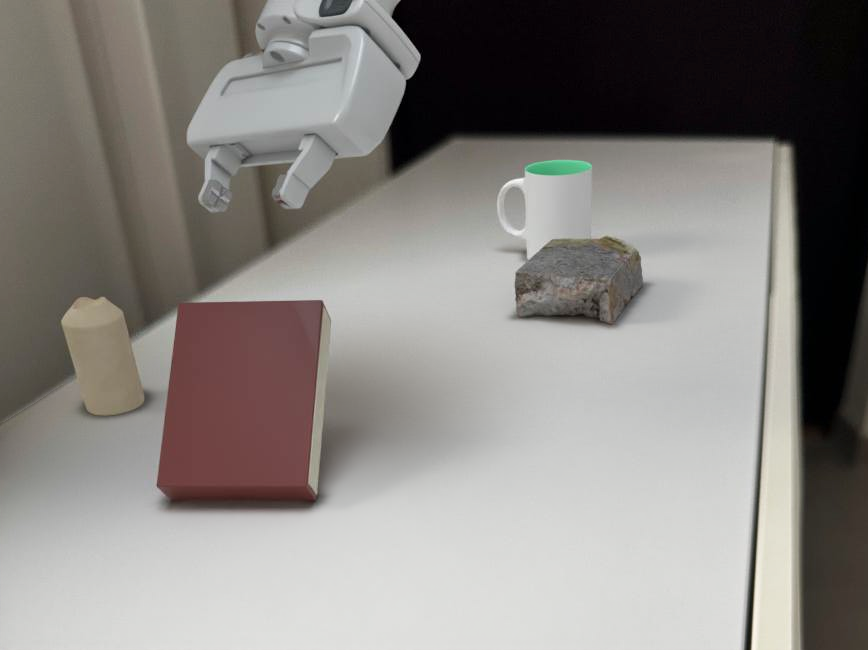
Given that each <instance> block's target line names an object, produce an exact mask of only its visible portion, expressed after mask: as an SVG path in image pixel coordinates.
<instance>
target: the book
mask: <svg viewBox="0 0 868 650" xmlns="http://www.w3.org/2000/svg"><path fill="white" fill-rule="evenodd" d="M175 320H176V321H175V330H174V336H173V337H174V338H173V344H172V345H173V347H172V354H171V363H170V369H169V370H170V371H169V378H168V380H169V381H168V387H167V396H166V397H167V398H166V404H165V413H164V420H163V428H162V429H163V430H162V437H161V446H160V453H159V462H158V470H157V479H156V488H157V489H158V490H159V491H160V492H162V493H163V495H165V496H166V498H167V499H169V500H170V501H231V502H232V501H233V502H234V501H237V502H238V501H239V502H240V501H251V502H253V501H255V502H256V501H257V502H258V501H259V502H260V501H261V502H263V501H267V502H268V501H269V502H270V501H274V502H275V501H276V502H277V501H281V502H282V501H285V502H289V501H290V502H291V501H292V502H294V501H295V502H301V501H302V502H309V501H310V502H315V501H317V496H318V487H319V476H320V464H321V463H320V462H321V451H322V439H323V427H324V415H325V403H326V391H327V379H328V367H329V355H330V343H331V341H330V340H331V329H332V318H331V316H330V315H329V312H328V309H327V307H326V305H325V304H324V300H322V299H308V300H307V299H305V300H304V299H303V300H301V299H300V300H247V301H202V302H201V301H197V302H195V301H194V302H193V301H192V302H178V305H177V314H176V319H175Z"/></svg>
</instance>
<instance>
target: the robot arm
mask: <svg viewBox="0 0 868 650" xmlns="http://www.w3.org/2000/svg"><path fill="white" fill-rule="evenodd" d="M400 2H401V0H266V2H265V4H264V6H263V8H262V11H261V13H260V16H259V17H258V20H257V22H256V24H255V28H254V29H255V30H254V33H255V38H256V41H257V44H258V46H259V48H260V50H261V51H260V52H250V53H247V54H245V55H244V56H243V57H242V58H239V59H234V60H232V61H230V62H227V64H225V65H224V66H223V67H222V68H221V69H220V70H219V71H218V73H217V74H216V76H215V77H214V78H213V80H212V81H211V83H210V85H209V86H208V89H207V90H206V92H205V94H204V96H203V98H202V99H201V101H200V103H199V105H198V107H197V109H196V110H195V113H194V115H193V116H192V118H191V121H190V123H189V125H188V126H187V129H186V144H187V146H188V147H189V148H190V149H191V150H192V151H193V152H194V153H195V154H196V155H198V156H199V157H200V158H201V159H203V161H204V182H203V185H202V187H201V189H200V192H199V194H198V198H197V200H198V203H199V204H200V205H201V206H202V207H203V208H205V210H207V211H208V212H209V213H222V212H226V211H227V210H228V207H229V204H230V203H231V201H232V198H233V196H234V193H233V192H232V191H231V190H230V185H231V180H232V179H231V178H232V177H235V176H236V175H237V174H238V172H239V169H240V168H249V167H259V166H269V165H280V164H291V163H292V165H291V166H290V167H289V169H288V170H287V171H286V173H280V174H279V175H278V177H277V179H276V182H275V186H274V187H273V189H272V192H271V197H272V199H273V200H274V201H275V203H277V204H279V205H280V206H281V208H282V209H284V210H299V209H301V208H302V207H303V205H304V203H305V201H306V199H307V197H308V194H309V192H310V190H311V189H313V188H314V186H315V185H316V184H317V183H318V182H319V181H320V180H321V179H322V178H323V177H324V176H325V175H326V174H327V173H328V171H330V169H331V167H332V165H333V163H334V161H335V159H345V158H357V157H365V156H366V157H367V156H368V155H370V153H372V152H373V151H375V149H376V148H377V147H379V145H380V144H381V143H382V142H383V141H384V139H385V137H386V135H387V133H388V131H389V129H390V127H391V125H392V124H393V121H394V118H395V117H396V114H397V112H398V109H399V108H400V104H401V103H402V99H403V97H404V95H405V91H406V86H407V80H410V79H411V78H412V77H413V76H414V74H415V72H416V71H417V69H418V67H419V64H420V62H421V53H420V52H419V50H418V49H417V48H416V46H415V45H414V44H413V42H412V41H411V40H410V38H409V37H408V35H407V34H406V33H405V32H404V31H403V29H402V28H401V27H400V26H399V25H398V23H397V22H396V21H395V20H394V19H393V18H392V17H393V14H394V11H395V8H396V7H397V5H398V4H399V3H400Z"/></svg>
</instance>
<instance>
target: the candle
mask: <svg viewBox="0 0 868 650" xmlns="http://www.w3.org/2000/svg"><path fill="white" fill-rule="evenodd" d="M124 314H125V313H124V311H123V309H121V308H119V307H118V306H117V305H115V304H114V303H112V302H111V301H110V300H108V299H107V298H106V297H105V296H100V297H98V298H96V299H93V298H90V297H87V296H81V297H79V298H76V300H75V301H74V302H73V304H72V305H71V306H70V307H69V309H67V311H66V312H65V314H64V315H63V317H62V318H61V320H60V324H61V327H62V330H63V334H64V337H65V341H66V344H67V348H68V352H69V354H70V357H71V361H72V365H73V367H74V368H73V369H74V372H75V375H76V378H77V382H78V385H79V388H80V392H81V395H82V400H83V402H84V405H85V408H86V410H87V412H88V413H90V414H92V415H96V416H115V415H121V414H125V413H128V412H129V413H130V412H131V411H134V410H136V409H138V408H139V407H141V406H142V405H143V404H144V403H145V394H144V389H143V385H142V381H141V377H140V373H139V370H138V365H137V362H136V357H135V354H134V349H133V346H132V342H131V337H130V333H129V330H128V326H127V321H126V318H125V315H124Z"/></svg>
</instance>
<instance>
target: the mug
mask: <svg viewBox="0 0 868 650" xmlns="http://www.w3.org/2000/svg"><path fill="white" fill-rule="evenodd" d="M512 188H519V189H520V190H521V191H522V193H523V196H524V205H525V223H524V226H523V228H522V229H517V228H515V227H513V226H512V225H511V223H510V222H509V220H508V218H507V215H506V210H505V200H506V195H507V193H508V191H509V190H510V189H512ZM592 197H593V165H592V164H591V163H589V162H587V161H583V160H576V159H552V160H544V161H538V162H534V163H531V164H529V165H527V166H525V167H524V177H520V178H515V179H511V180H509V181H507V182H506V183H505V184H503V186H502V187H501V189H500V190H499V193H498V196H497V202H496V211H497V217H498V220H499V224H500V225H501V227H502V229H503V230H504V231H505V232H506V233H508V234H509V235H510V236H511V237H515V238H518V239H523V240H524V241H525V244H526V245H525V246H526V259H527V261H528V260H529V259H530V258H532V257H533V256H534V255H535V254H536V253H537V252H539V250H540V249H541V248H542V247H544V246H545V245H546V244H547V243H548V242H549V241H551V240H552V239H562V238H568V239H569V238H573V239H587V238H592V217H593V216H592V214H593V213H592V207H593V204H592V203H593V198H592Z"/></svg>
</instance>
